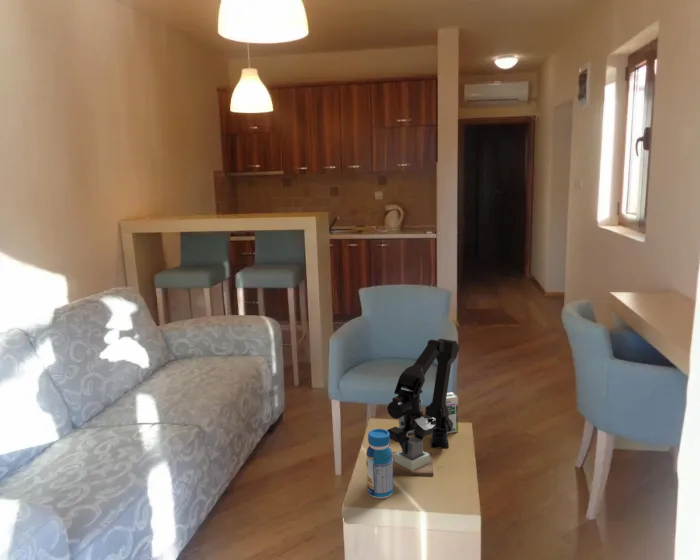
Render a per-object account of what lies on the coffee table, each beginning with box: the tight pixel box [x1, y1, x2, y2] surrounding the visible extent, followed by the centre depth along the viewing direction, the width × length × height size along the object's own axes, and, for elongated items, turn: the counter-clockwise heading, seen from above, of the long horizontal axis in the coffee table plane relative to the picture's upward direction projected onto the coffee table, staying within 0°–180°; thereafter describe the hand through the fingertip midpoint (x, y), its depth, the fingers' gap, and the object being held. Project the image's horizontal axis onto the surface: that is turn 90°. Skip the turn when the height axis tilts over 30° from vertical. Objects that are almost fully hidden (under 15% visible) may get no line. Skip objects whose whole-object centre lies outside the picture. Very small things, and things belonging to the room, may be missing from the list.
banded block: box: [401, 435, 424, 460], centre depth 194 cm, size 5×5×8 cm
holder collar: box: [394, 449, 430, 471], centre depth 194 cm, size 9×9×3 cm
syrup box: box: [446, 391, 459, 434], centre depth 219 cm, size 6×6×14 cm
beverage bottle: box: [365, 428, 394, 499], centre depth 176 cm, size 8×8×20 cm
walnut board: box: [392, 451, 434, 477], centre depth 194 cm, size 14×14×1 cm
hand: (412, 451), depth 194 cm, fingers open, 6 cm apart
